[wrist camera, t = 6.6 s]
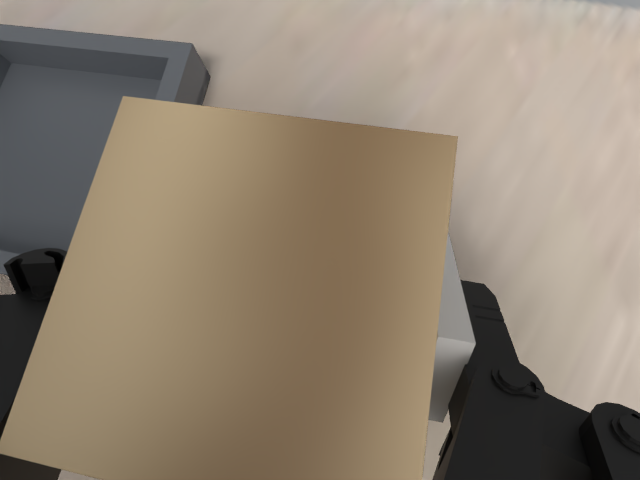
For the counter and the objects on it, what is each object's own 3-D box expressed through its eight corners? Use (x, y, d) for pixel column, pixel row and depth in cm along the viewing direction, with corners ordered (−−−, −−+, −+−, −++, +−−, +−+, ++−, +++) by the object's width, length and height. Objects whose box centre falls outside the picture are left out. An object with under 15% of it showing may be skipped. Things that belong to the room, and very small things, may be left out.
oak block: (237, 371, 17) (-4, 452, 5) (265, 247, 18) (123, 95, 7) (366, 398, 16) (413, 560, 5) (385, 267, 18) (457, 136, 6)
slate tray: (-80, 257, 20) (-141, 246, 17) (11, 54, 23) (-29, 21, 20) (144, 300, 18) (112, 295, 16) (210, 76, 21) (192, 43, 19)
